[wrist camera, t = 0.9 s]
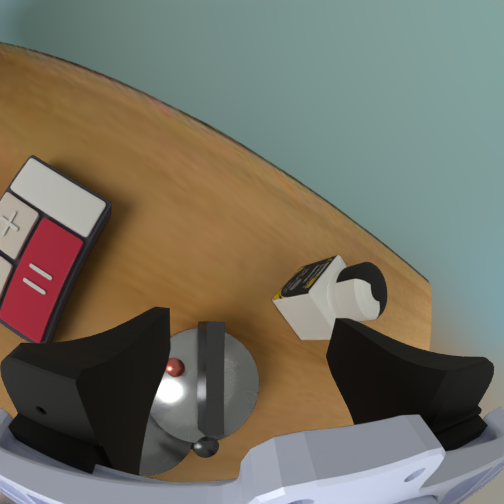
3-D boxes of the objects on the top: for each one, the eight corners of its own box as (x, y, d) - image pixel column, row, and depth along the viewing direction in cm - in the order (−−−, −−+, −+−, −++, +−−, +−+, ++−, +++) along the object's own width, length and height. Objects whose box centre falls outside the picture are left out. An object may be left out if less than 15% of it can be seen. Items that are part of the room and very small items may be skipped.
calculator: (-45, 287, 12) (30, 149, 18) (-28, 291, 16) (36, 169, 22) (42, 353, 16) (114, 199, 22) (51, 347, 20) (112, 215, 26)
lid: (253, 446, 23) (269, 454, 21) (147, 458, 17) (153, 471, 15) (255, 325, 27) (271, 324, 24) (143, 317, 21) (149, 316, 19)
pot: (186, 469, 22) (198, 483, 19) (25, 422, 15) (18, 434, 12) (206, 391, 26) (220, 398, 23) (43, 332, 19) (35, 334, 16)
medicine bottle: (301, 266, 37) (373, 242, 27) (327, 305, 38) (399, 293, 28) (269, 299, 33) (346, 283, 23) (300, 341, 34) (378, 338, 24)
